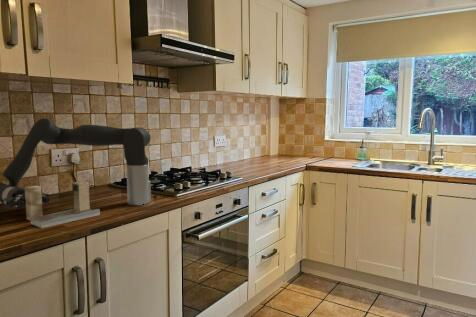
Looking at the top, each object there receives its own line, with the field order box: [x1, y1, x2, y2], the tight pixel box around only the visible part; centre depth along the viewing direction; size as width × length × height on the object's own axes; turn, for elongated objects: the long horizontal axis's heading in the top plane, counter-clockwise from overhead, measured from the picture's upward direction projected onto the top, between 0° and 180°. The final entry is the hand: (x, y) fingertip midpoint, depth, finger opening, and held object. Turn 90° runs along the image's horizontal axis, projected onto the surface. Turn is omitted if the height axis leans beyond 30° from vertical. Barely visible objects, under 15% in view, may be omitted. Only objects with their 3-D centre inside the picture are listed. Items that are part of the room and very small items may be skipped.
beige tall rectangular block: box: [24, 185, 44, 222], centre depth 137 cm, size 4×4×12 cm
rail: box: [30, 180, 101, 229], centre depth 136 cm, size 22×8×13 cm, turn 143°
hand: (35, 202), depth 136 cm, fingers open, 8 cm apart
